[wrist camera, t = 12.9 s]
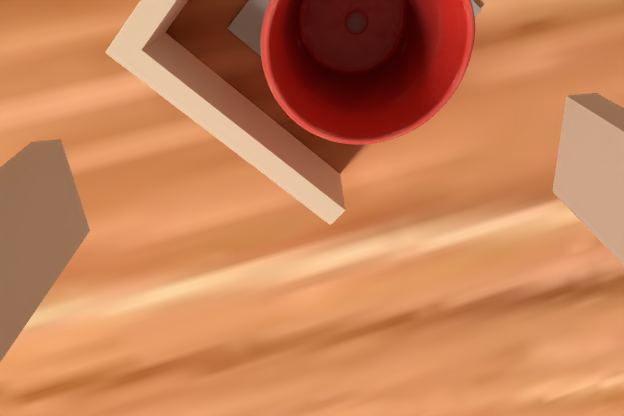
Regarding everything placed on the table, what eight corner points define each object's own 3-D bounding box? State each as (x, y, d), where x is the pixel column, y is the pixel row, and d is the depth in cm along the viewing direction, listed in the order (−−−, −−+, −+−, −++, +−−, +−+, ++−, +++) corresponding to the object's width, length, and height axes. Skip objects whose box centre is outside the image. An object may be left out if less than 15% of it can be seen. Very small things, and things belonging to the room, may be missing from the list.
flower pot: (439, 83, 38) (479, 128, 29) (286, 108, 38) (281, 160, 30) (429, -87, 33) (474, -93, 24) (254, -54, 34) (237, -48, 25)
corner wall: (134, 34, 36) (104, 52, 31) (302, -208, 30) (302, -238, 25) (327, 187, 42) (330, 224, 36) (501, 7, 36) (536, 20, 30)
